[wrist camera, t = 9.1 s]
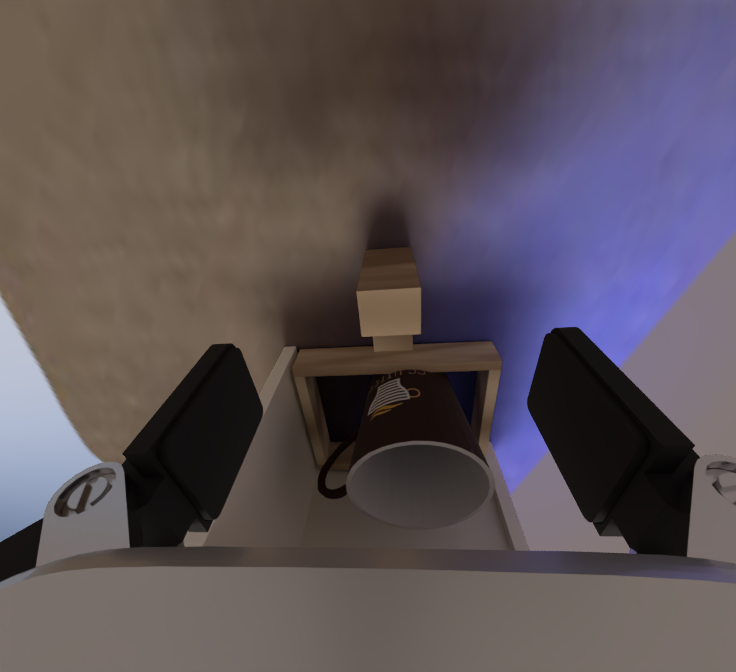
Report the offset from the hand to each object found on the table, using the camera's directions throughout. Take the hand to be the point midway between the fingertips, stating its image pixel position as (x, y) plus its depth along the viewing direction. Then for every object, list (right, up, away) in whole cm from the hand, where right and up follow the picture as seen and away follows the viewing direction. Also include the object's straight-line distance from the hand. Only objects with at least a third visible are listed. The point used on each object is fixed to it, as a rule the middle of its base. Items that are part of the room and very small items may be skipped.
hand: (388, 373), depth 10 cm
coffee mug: (+1, -3, +17) cm, 17 cm away
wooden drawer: (+2, -1, +16) cm, 16 cm away
